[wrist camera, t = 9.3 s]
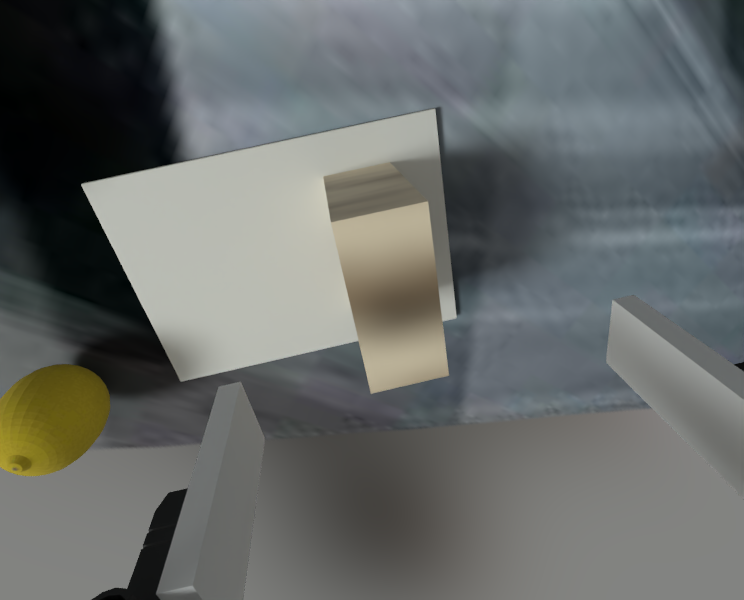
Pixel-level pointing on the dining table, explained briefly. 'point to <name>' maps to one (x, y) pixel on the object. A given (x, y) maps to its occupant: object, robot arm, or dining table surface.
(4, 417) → the lemon
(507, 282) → the dining table surface
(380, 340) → the slab
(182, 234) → the placemat
